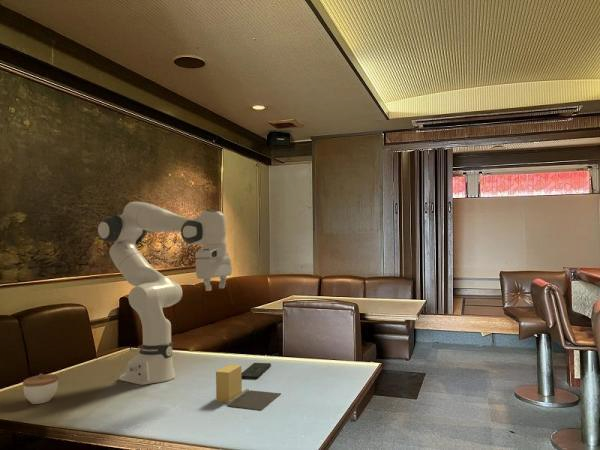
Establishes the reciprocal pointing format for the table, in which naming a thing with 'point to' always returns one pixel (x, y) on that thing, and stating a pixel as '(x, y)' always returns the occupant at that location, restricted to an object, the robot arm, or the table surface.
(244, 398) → the topple stop
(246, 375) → the smart home device
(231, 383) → the mustard block
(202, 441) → the table surface
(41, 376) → the lidded jar
